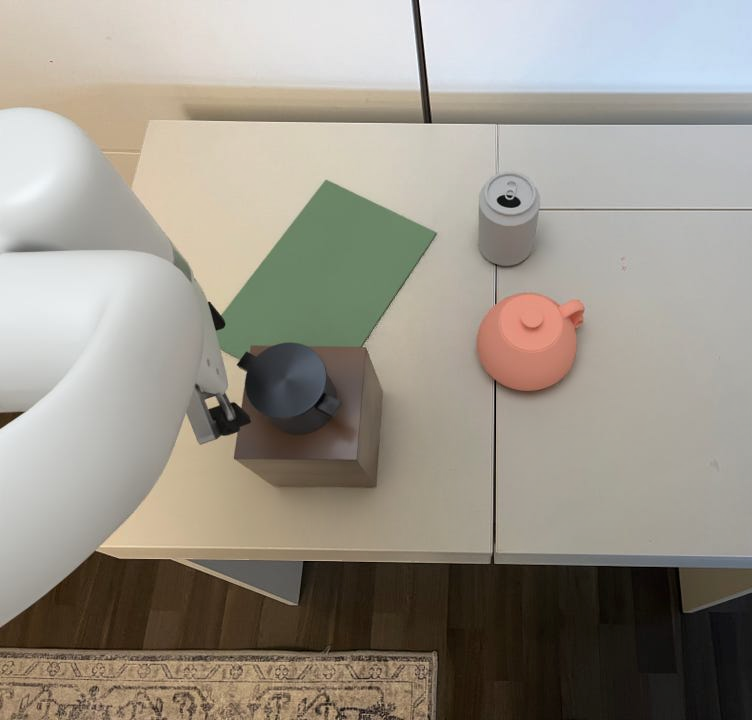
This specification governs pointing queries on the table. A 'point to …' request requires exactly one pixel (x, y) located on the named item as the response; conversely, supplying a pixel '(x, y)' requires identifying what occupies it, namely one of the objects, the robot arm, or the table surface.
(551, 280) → the table surface
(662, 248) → the table surface
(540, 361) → the sugar bowl
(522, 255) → the can
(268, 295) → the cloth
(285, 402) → the pot
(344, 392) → the stand
